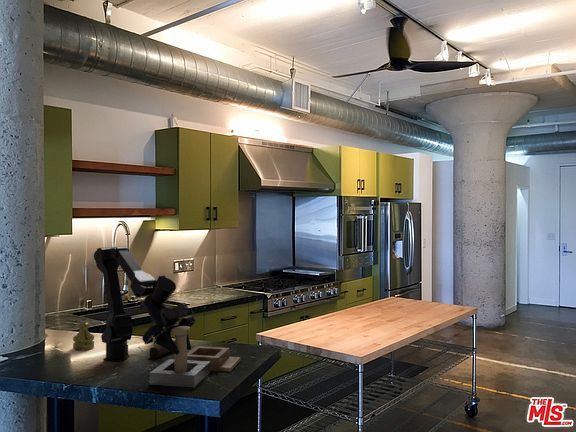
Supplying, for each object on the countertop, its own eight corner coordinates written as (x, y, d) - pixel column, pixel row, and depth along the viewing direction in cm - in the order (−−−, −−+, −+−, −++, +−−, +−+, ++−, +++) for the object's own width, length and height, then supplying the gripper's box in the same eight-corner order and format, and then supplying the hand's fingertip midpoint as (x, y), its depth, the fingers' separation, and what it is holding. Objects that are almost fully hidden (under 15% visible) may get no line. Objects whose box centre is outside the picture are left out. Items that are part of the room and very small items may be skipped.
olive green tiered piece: (68, 350, 184) (68, 323, 184) (81, 345, 191) (81, 319, 191) (86, 351, 182) (86, 324, 182) (98, 346, 189) (98, 320, 189)
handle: (193, 374, 155) (193, 326, 155) (181, 381, 149) (181, 331, 149) (180, 372, 157) (180, 325, 157) (167, 379, 151) (168, 329, 151)
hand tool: (157, 359, 173) (157, 346, 173) (148, 358, 175) (148, 344, 175) (193, 347, 189) (193, 335, 189) (185, 346, 191) (185, 333, 191)
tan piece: (171, 367, 163) (171, 355, 163) (185, 357, 175) (185, 345, 175) (230, 371, 160) (230, 358, 160) (240, 360, 171) (240, 348, 171)
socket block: (149, 384, 148) (149, 372, 148) (169, 369, 161) (169, 359, 161) (194, 387, 145) (194, 375, 145) (210, 372, 159) (210, 361, 159)
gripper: (149, 299, 147) (177, 342, 141) (191, 291, 163) (218, 329, 158) (130, 323, 151) (156, 365, 146) (173, 312, 167) (198, 350, 162)
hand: (184, 351), depth 152 cm, fingers closed on handle, 5 cm apart
